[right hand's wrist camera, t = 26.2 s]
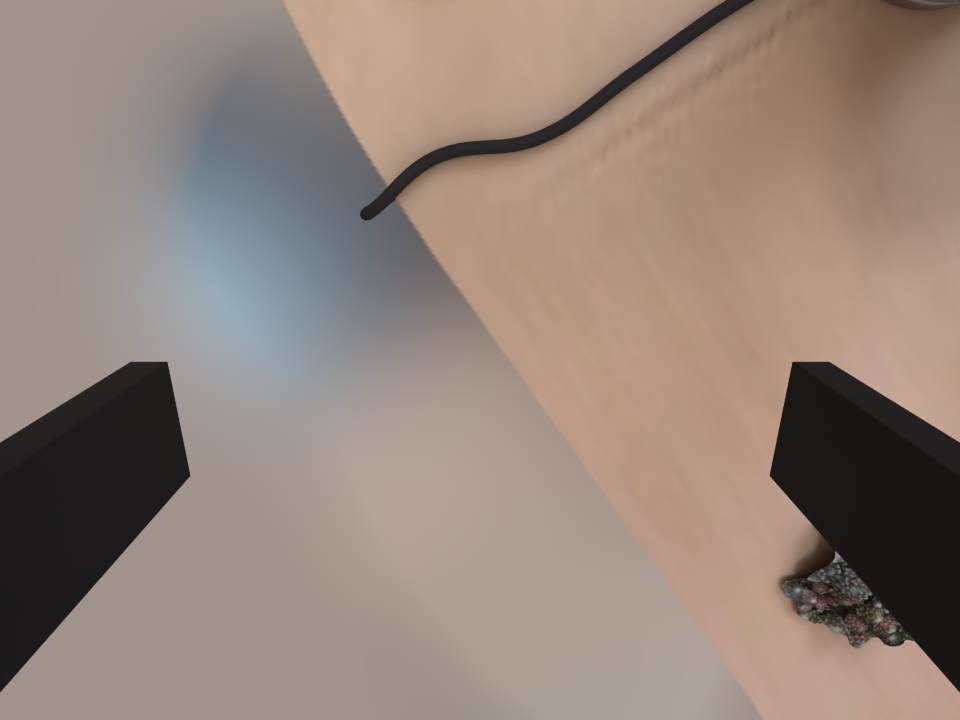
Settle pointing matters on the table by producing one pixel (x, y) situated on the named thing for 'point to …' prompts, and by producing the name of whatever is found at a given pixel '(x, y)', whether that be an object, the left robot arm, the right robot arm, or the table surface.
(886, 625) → the coral
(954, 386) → the table surface
